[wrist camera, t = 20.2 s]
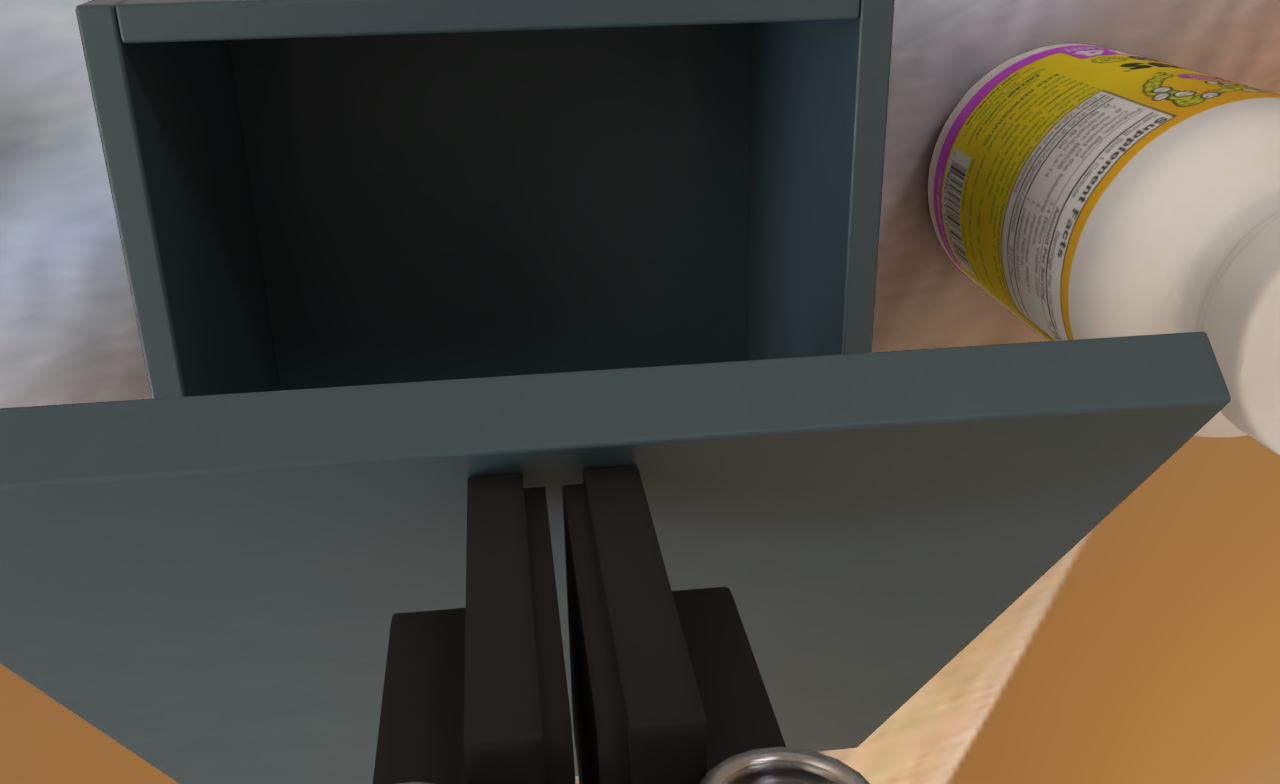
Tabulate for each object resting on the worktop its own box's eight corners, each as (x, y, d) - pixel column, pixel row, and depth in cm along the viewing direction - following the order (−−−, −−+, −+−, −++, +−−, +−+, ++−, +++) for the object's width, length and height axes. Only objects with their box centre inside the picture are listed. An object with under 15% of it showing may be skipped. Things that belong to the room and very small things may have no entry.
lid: (-220, 419, 10) (-241, 505, 10) (1207, 328, 12) (1234, 401, 12) (222, 771, 25) (220, 812, 24) (851, 709, 26) (857, 747, 26)
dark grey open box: (195, -38, 27) (73, 5, 19) (773, -53, 28) (897, -19, 20) (287, 548, 33) (225, 776, 25) (758, 511, 34) (848, 715, 26)
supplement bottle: (1212, 144, 32) (1642, 306, 20) (1037, 334, 33) (1340, 587, 22) (1045, -21, 29) (1421, 54, 18) (865, 192, 31) (1101, 389, 19)
